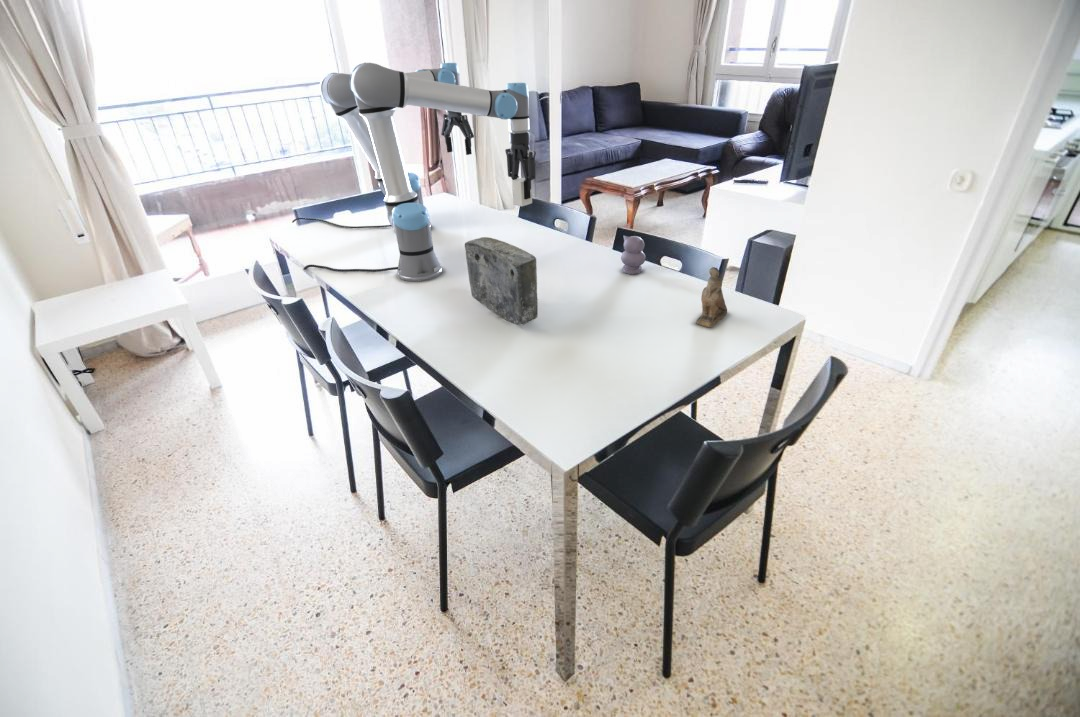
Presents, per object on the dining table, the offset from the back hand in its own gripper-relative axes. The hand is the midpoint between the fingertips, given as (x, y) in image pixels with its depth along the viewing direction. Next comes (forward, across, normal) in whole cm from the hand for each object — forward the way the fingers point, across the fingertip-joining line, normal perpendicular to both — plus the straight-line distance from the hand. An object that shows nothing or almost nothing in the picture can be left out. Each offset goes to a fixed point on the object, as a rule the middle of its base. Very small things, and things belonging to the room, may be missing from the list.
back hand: (459, 153), depth 234 cm
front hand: (+8, -59, +20) cm, 63 cm away
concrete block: (+27, -99, +71) cm, 124 cm away
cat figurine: (+27, -110, +20) cm, 115 cm away
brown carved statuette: (+27, -146, +38) cm, 154 cm away
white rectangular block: (+11, -59, +20) cm, 63 cm away
